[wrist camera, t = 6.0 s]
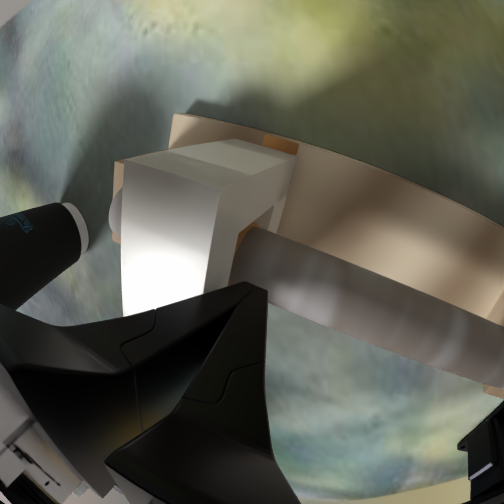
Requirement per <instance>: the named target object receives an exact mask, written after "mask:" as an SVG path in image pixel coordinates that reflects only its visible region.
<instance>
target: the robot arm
mask: <svg viewBox="0 0 504 504" xmlns="http://www.w3.org/2000/svg"><path fill="white" fill-rule="evenodd" d="M267 316H268V290H266V289H264V288H261V287H259V286H256V285H254V284H252V283H249V282H247V281H242V282H239V283H236V284H233V285H230V286H227V287H223V288H220V289H217V290H214V291H211V292H207V293H204V294H201V295H198V296H194V297H191V298H188V299H185V300H181V301H178V302H175V303H171V304H168V305H165V306H161V307H158V308H156V310H155V309H151V310H147V311H144V312H140V313H137V314H133V315H129V316H124V317H120V318H115V319H110V320H104V321H99V322H93V323H87V324H81V325H75V326H63V327H62V326H54V325H50V324H47V323H44V322H42V321H39V320H37V319H34V318H32V317H29V316H27V315H25V314H22V313H20V312H17V311H15V310H13V309H11V308H8V307H6V306H4V305H2V304H0V491H1V492H2V493H3V495H4V496H5V497H6V498H7V499H8V500H9V501H10V502H11V503H12V504H63V502H64V501H65V500H66V499H67V498H68V497H69V496H70V495H71V494H72V492H73V491H74V490H75V489H76V488H77V487H78V486H79V485H80V484H81V482H82V483H83V484H84V485H86V486H87V487H88V488H90V489H91V490H92V491H93V492H95V493H96V494H97V495H99V496H100V497H101V498H104V496H106V495H107V493H108V492H109V491H110V490H111V489H112V488H113V487H114V486H115V485H116V484H117V485H118V487H119V488H120V490H121V491H122V492H123V494H124V495H125V497H126V498H127V500H128V501H129V502H130V504H301V503H300V501H299V499H298V498H297V496H296V495H295V493H294V491H293V490H292V488H291V486H290V485H289V483H288V481H287V480H286V478H285V476H284V475H283V473H282V471H281V470H280V468H279V466H278V464H277V462H276V460H275V457H274V453H273V449H272V444H271V437H270V429H269V422H268V414H267V406H266V396H265V359H266V338H267ZM457 449H458V450H460V451H466V452H468V480H470V481H471V493H470V499H471V500H470V501H467V502H465V503H462V504H504V402H503V403H502V404H501V405H500V406H499V407H498V408H497V409H496V410H495V411H494V412H493V413H492V414H491V415H490V416H489V417H487V418H486V419H485V420H484V421H483V422H482V423H481V424H480V425H479V426H478V427H477V428H475V429H474V430H473V431H472V432H471V433H470V434H468V435H467V436H466V437H465V438H464V439H463V440H461V441H460V442H459V443H458V444H457ZM0 504H4V503H3V502H2V501H0Z"/></svg>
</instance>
